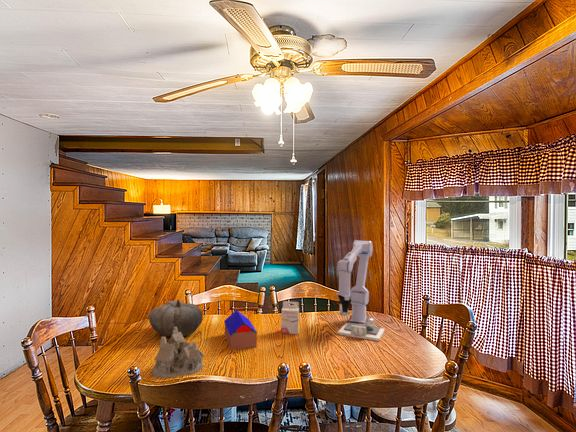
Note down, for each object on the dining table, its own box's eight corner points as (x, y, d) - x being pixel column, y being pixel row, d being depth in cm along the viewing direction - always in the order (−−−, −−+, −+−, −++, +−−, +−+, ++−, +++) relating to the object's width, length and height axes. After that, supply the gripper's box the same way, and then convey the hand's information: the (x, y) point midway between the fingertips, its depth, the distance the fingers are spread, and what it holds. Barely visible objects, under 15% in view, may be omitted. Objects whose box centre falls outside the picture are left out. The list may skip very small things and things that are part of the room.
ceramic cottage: (145, 372, 129) (148, 332, 128) (180, 358, 143) (183, 321, 142) (174, 386, 121) (177, 343, 120) (208, 370, 135) (211, 331, 134)
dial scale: (345, 325, 184) (346, 315, 184) (384, 331, 176) (384, 320, 176) (337, 334, 171) (337, 323, 171) (379, 341, 162) (379, 330, 162)
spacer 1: (347, 312, 179) (347, 303, 179) (349, 315, 174) (349, 305, 174) (338, 312, 179) (339, 303, 179) (340, 315, 174) (340, 305, 174)
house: (230, 351, 150) (230, 324, 150) (223, 334, 169) (224, 310, 169) (257, 347, 153) (257, 321, 153) (248, 332, 172) (248, 308, 172)
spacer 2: (375, 328, 174) (375, 318, 174) (372, 331, 170) (372, 321, 170) (367, 326, 176) (367, 316, 176) (364, 329, 173) (364, 319, 172)
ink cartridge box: (280, 333, 171) (281, 303, 171) (281, 330, 176) (282, 301, 176) (298, 334, 170) (298, 304, 170) (298, 330, 175) (299, 301, 175)
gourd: (143, 339, 153) (148, 299, 156) (149, 330, 177) (153, 295, 180) (201, 340, 160) (205, 302, 163) (199, 331, 184) (203, 297, 186)
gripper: (334, 281, 183) (334, 306, 184) (339, 287, 169) (338, 315, 169) (347, 281, 184) (347, 306, 184) (353, 287, 169) (353, 315, 169)
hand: (344, 310), depth 177 cm, fingers closed on spacer 1, 4 cm apart
